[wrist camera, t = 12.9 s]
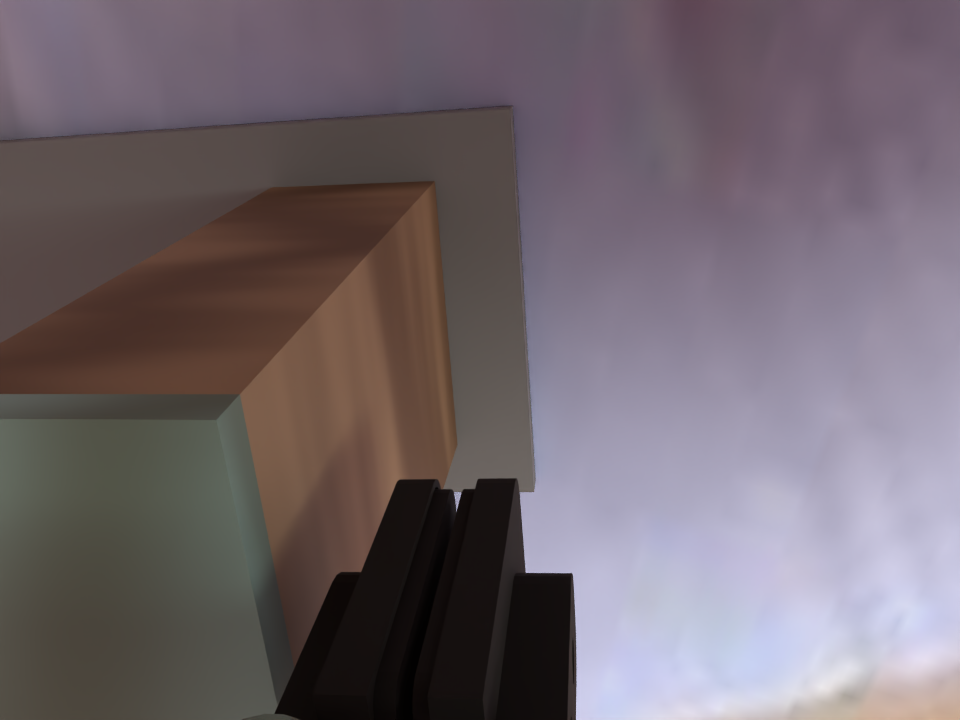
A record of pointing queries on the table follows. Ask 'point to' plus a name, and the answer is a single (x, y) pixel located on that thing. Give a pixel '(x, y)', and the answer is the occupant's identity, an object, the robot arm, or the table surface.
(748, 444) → the table surface
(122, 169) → the mat
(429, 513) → the robot arm
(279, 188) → the block
